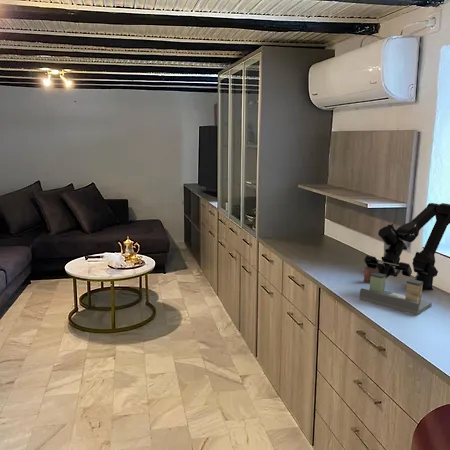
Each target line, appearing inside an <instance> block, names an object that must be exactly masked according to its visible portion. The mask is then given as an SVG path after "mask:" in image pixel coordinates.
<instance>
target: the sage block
mask: <svg viewBox="0 0 450 450" xmlns="http://www.w3.org/2000/svg"><path fill="white" fill-rule="evenodd" d="M370 276H371V278H370V283H369V289H368V290H371V291H375V292H379V293H383V294H384V291H385V288H386V279H387V278H386V275H385V274H381V273H377V272H374V273H372V274H370Z"/></svg>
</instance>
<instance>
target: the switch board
mask: <svg viewBox="0 0 450 450" xmlns="http://www.w3.org/2000/svg"><path fill="white" fill-rule="evenodd" d="M405 296H406V295H404V294H400V293H395V292H391V291H387V290H384V294H383V293H379V292H375V291H371V290H369V289H368V288H367V289H366V288H360V290H359V298H358V299H359V301H364V302H367V303H370V304H373V305H377V306H381V307H385V308H388V309H392V310H396V311H400V312H403V313H406V314H410V315H414V316H418V315H420V314H422V313H423V312H425V311H427V310H428V309H429V308H432V305H433V302H431V301H427V300H423V299H421V303H418V302H414V301H410V300H406V299H405Z"/></svg>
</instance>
